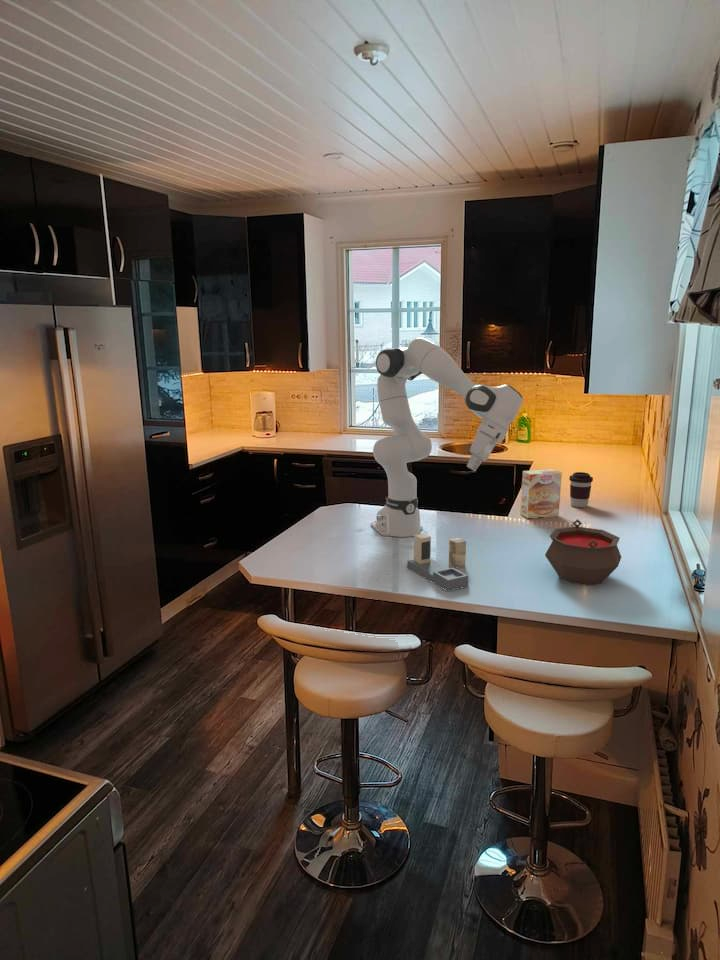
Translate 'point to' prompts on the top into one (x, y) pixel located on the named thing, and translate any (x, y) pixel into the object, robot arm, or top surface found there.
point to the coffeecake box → (540, 493)
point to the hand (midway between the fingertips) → (470, 468)
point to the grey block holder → (434, 566)
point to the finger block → (457, 552)
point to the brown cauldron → (583, 554)
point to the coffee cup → (580, 489)
